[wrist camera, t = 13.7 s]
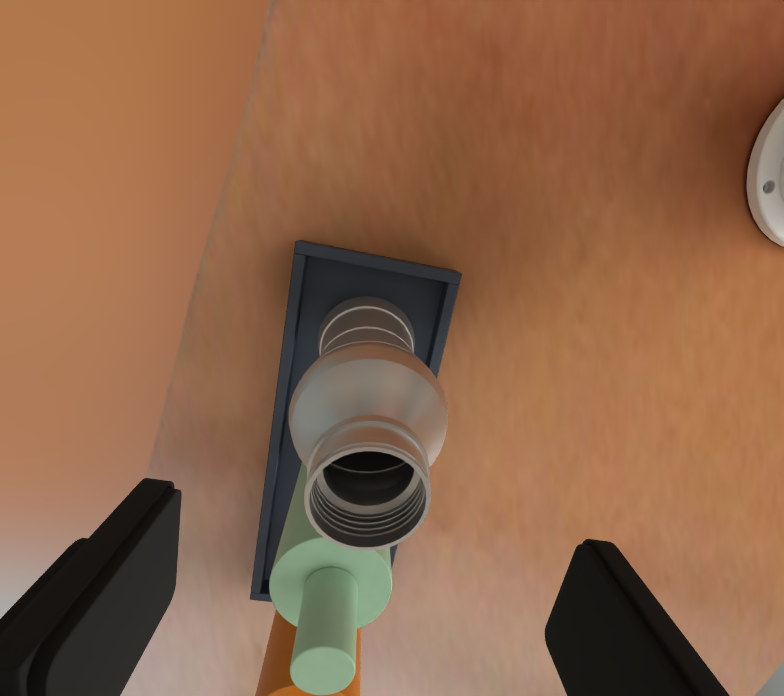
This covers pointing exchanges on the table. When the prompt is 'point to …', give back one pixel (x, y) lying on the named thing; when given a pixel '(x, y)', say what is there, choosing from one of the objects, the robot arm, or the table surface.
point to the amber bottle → (275, 679)
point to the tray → (300, 350)
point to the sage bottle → (325, 598)
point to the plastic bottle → (367, 427)
